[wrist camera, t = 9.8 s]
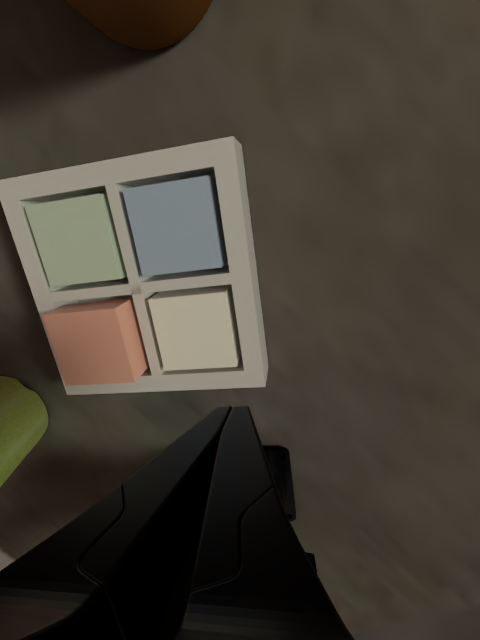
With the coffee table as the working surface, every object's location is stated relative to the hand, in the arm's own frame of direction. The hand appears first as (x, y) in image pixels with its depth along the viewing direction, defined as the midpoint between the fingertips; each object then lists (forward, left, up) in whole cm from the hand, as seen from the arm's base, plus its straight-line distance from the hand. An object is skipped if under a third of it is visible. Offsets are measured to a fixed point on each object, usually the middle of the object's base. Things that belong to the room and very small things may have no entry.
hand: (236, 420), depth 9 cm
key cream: (-1, +4, -11) cm, 12 cm away
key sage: (+5, +10, -11) cm, 16 cm away
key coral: (-1, +10, -10) cm, 14 cm away
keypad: (+2, +7, -12) cm, 14 cm away
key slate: (+5, +4, -11) cm, 13 cm away
